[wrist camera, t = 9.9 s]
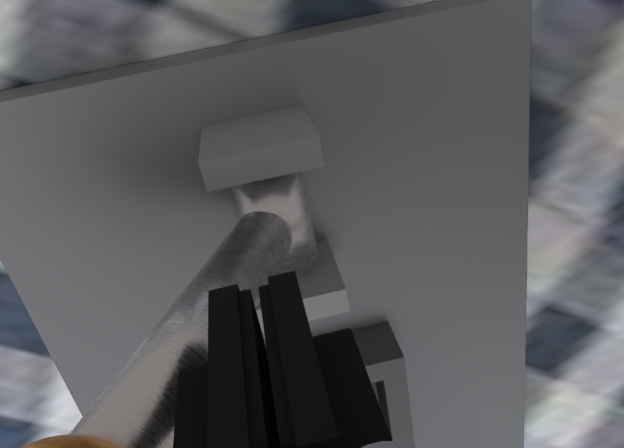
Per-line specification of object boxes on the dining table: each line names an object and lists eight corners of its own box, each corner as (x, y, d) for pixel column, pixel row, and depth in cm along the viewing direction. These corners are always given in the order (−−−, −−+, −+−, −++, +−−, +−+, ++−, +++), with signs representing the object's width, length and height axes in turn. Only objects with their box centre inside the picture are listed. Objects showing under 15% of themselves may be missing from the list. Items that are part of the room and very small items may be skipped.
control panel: (499, -13, 17) (596, 0, 13) (503, 491, 29) (554, 588, 24) (-42, 99, 16) (-139, 155, 12) (188, 572, 28) (182, 689, 24)
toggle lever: (323, 158, 15) (21, 610, 6) (337, 242, 17) (113, 727, 7) (235, 162, 16) (-155, 558, 7) (255, 242, 18) (-45, 669, 8)
